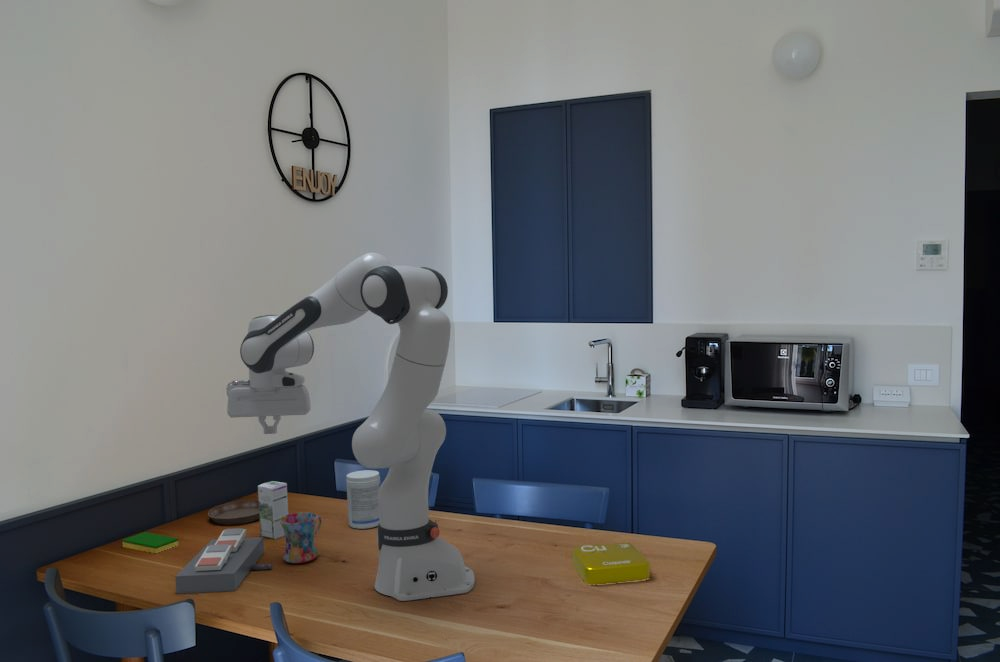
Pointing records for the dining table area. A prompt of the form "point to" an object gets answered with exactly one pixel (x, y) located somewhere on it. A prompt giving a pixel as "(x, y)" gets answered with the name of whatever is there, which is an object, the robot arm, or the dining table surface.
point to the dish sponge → (150, 542)
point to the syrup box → (272, 508)
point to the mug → (300, 536)
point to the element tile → (610, 563)
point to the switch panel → (222, 569)
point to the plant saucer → (236, 512)
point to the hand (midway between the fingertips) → (270, 433)
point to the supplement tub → (363, 498)
